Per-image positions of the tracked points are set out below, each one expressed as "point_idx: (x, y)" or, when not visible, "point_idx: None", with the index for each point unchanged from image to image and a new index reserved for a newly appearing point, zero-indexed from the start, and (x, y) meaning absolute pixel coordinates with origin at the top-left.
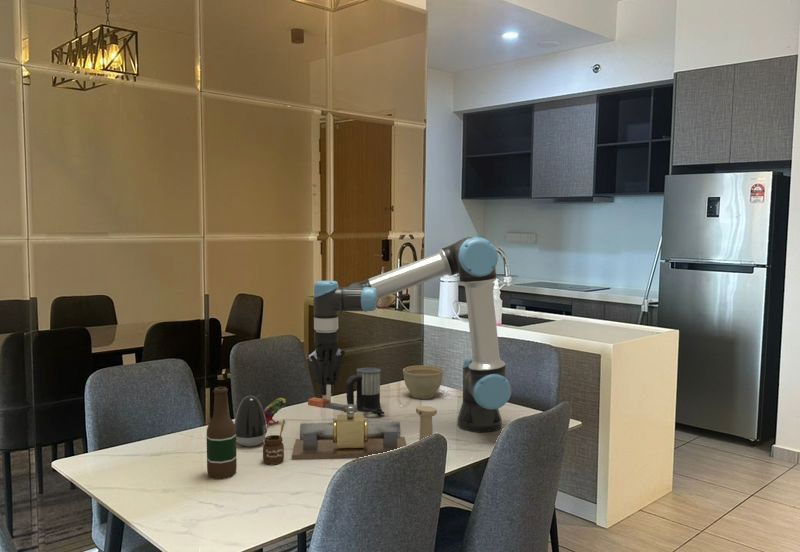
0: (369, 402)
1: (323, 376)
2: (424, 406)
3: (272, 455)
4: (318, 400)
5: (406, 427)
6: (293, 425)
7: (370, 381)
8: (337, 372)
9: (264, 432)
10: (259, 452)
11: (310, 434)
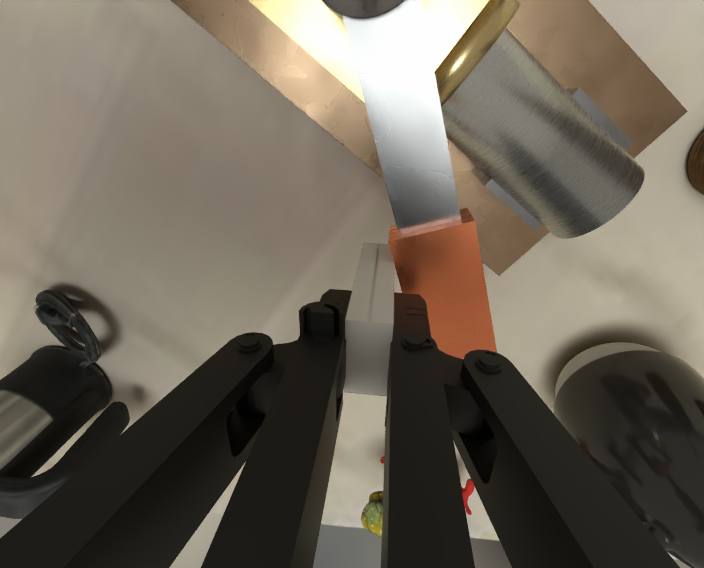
0: (53, 377)
1: (446, 417)
2: None
3: None
4: (463, 286)
5: (11, 117)
6: (364, 412)
7: None
8: (197, 403)
9: (617, 358)
10: (664, 284)
11: (600, 118)
